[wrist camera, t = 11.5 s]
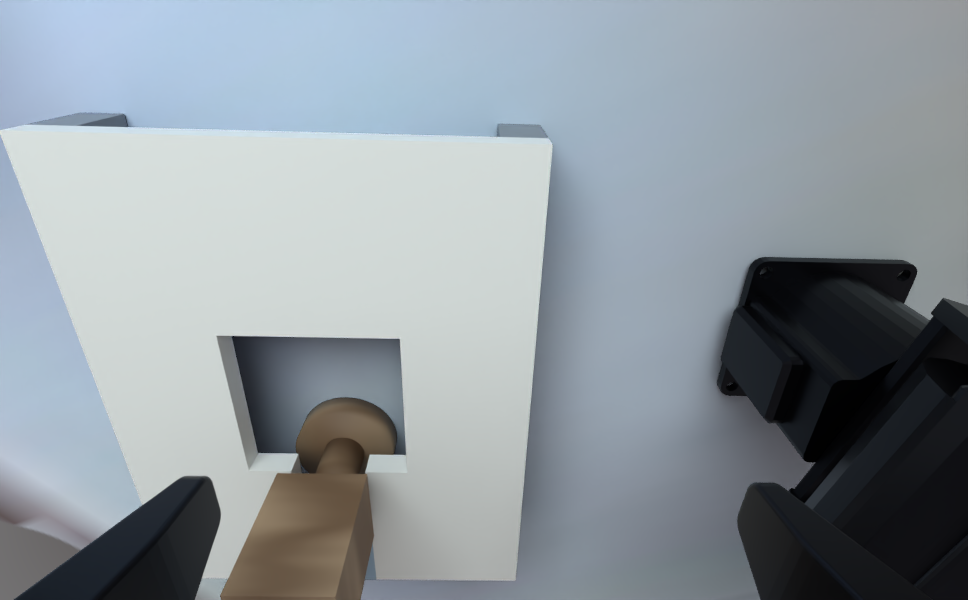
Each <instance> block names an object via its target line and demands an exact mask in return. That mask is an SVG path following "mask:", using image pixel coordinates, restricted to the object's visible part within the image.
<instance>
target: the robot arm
mask: <svg viewBox="0 0 968 600" xmlns="http://www.w3.org/2000/svg"><path fill="white" fill-rule="evenodd" d="M765 267H768V269H767V271H766V272H765V273H764V274H760V272H761V270H762V269H763V268H765ZM901 271H903V272H902V274H901V275H900V276H898V277H897V275H898V274H899V273H900V272H901ZM916 275H917V269H916V267H915V266H914V265H912V264H910V263H909V262H907V261H904V260H875V259H829V258H783V257H762V258H759V259H757V260H755V261H754V262H753V263H752V264H751V266H750V268H749V271H748V274H747V278H746V281H745V285H744V288H743V292H742V295H741V299H740V302H739V306H738V307H737V308H736V309H735V310H734V313H733V316H732V320H731V323H730V327H729V330H728V334H727V338H726V341H725V345H724V348H723V352H722V355H721V361H722V366H721V370H720V373H719V377H718V380H717V385H718V387H719V389H720V390H721V392H722V393H723V394H725V395H729V396H748V398H749V399H750V400H751V402H752V403H753V405H754V406H755V407H756V409H757V410H758V411H759V413H760V414H761V415H762V417H763V418H764V419H765V420H766V421H767V422H768V423H776V424H777V425H778V426H779V428H780V429H781V430H782V432H783V433H784V434H785V436H786V437H787V438H788V440H789V441H790V442H791V444H792V445H793V446H794V448H795V449H796V450H797V451H798V453H799V454H800V455H801V457H802V458H803V459H804V460H805V461H806V462H816V463H815V464H814V465H813V466H812V468H811V469H810V470H809V471H808V473H807V474H806V475H805V476H804V478H803V479H802V480H801V481H800V483H799V484H798V485H797V486H796V487H795V489H793V488H791V489H790V490H789V491H787V490H786V489H784V488H783V487H782V486H780V485H778V484H776V483H752V484H751V485H750V486H749V487H748V489H747V492H746V494H745V497H744V500H743V503H742V506H741V508H740V511H739V514H738V520H737V522H738V530H739V533H740V536H741V540H742V543H743V546H744V549H745V552H746V555H747V558H748V562H749V565H750V568H751V571H752V574H753V577H754V580H755V584H756V587H757V590H758V593H759V596H760V599H761V600H968V306H967V305H964V304H961V303H958V302H955V301H952V300H949V299H945V298H943V299H942V300H941V301H940V302H939V304H938V305H937V306H936V307H935V309H934V310H933V311H932V312H931V314H932V315H933V317H932V319H931V320H928V319H927V318H925V317H924V316H922V315H921V314H919V313H917V312H916V311H914V310H913V309H911V308H910V307H908V306H907V305H905V304H904V302H905V300H906V298H907V296H908V293H909V291H910V289H911V287H912V284H913V282H914V280H915V278H916ZM730 382H733V384H731V385H728V384H729V383H730ZM727 385H728V386H727ZM220 520H221V510H220V506H219V503H218V499H217V496H216V492H215V489H214V485H213V482H212V480H211V479H210V478H209V477H208V476H183V477H181V478H179V479H178V480H176V481H175V482H173V483H172V484H171V485H169V486H168V487H167V488H165V489H164V490H162V491H161V492H160V493H158V494H157V495H156V496H154V497H153V498H152V499H150V500H149V501H147V502H146V503H145V504H143V505H142V506H141V507H139V508H138V509H137V510H135V511H134V512H132V513H131V514H130V515H128V516H127V517H126V518H124V519H123V520H122V521H120V522H119V523H117V524H116V525H115V526H113V527H112V528H111V529H109V530H108V531H107V532H105V533H104V534H102V535H101V536H100V537H98V538H97V539H96V540H94V541H93V542H92V543H90V544H89V545H87V546H86V547H85V548H83V549H82V550H81V551H79V552H78V553H77V554H75V555H74V556H72V557H71V558H70V559H68V560H67V561H66V562H65V563H63V564H62V565H60V566H59V567H57V568H56V569H55V570H53V571H52V572H51V573H49V574H48V575H47V576H45V577H44V578H43V579H41V580H40V581H38V582H37V583H36V584H34V585H33V586H32V587H30V588H29V589H28V590H26V591H25V592H23V593H22V594H21V595H19V596H18V597H17V598H15V599H14V600H195V597H196V594H197V591H198V588H199V585H200V582H201V579H202V576H203V573H204V570H205V567H206V564H207V561H208V558H209V555H210V552H211V549H212V546H213V543H214V540H215V537H216V534H217V531H218V528H219V525H220Z"/></svg>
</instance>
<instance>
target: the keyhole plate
mask: <svg viewBox="0 0 968 600" xmlns="http://www.w3.org/2000/svg"><path fill="white" fill-rule="evenodd" d="M0 135H1V137H2V140H3V143H4V145H5V148H6V150H7V153H8V156H9V158H10V161H11V163H12V166H13V169H14V171H15V174H16V177H17V179H18V182H19V184H20V187H21V190H22V192H23V195H24V197H25V200H26V203H27V205H28V208H29V210H30V213H31V216H32V218H33V221H34V223H35V226H36V229H37V231H38V234H39V237H40V239H41V242H42V244H43V247H44V250H45V252H46V255H47V257H48V260H49V263H50V265H51V268H52V270H53V273H54V276H55V278H56V281H57V283H58V286H59V289H60V291H61V294H62V297H63V299H64V302H65V304H66V307H67V310H68V312H69V315H70V317H71V320H72V323H73V325H74V328H75V330H76V333H77V336H78V338H79V341H80V344H81V346H82V349H83V351H84V354H85V357H86V359H87V362H88V364H89V367H90V370H91V372H92V375H93V377H94V380H95V383H96V385H97V388H98V390H99V393H100V396H101V398H102V401H103V404H104V406H105V409H106V411H107V414H108V417H109V419H110V422H111V424H112V427H113V430H114V432H115V435H116V437H117V440H118V443H119V445H120V448H121V450H122V453H123V456H124V458H125V461H126V464H127V466H128V469H129V471H130V474H131V477H132V479H133V482H134V484H135V487H136V490H137V492H138V495H139V497H140V500H141V503H142V505H143V504H145V503H146V502H147V501H149V500H150V499H152V498H153V497H154V496H156V495H157V494H158V493H160V492H161V491H162V490H164V489H165V488H167V487H168V486H169V485H171V484H172V483H173V482H175V481H176V480H178V479H179V478H181V477H183V476H208V477H209V478H210V479H211V480H212V482H213V485H214V489H215V492H216V496H217V499H218V503H219V506H220V510H221V520H220V525H219V528H218V531H217V534H216V537H215V540H214V543H213V546H212V549H211V552H210V555H209V558H208V561H207V564H206V567H205V570H204V573H203V576H202V578H229V576H230V574H231V571H232V569H233V567H234V565H235V563H236V561H237V558H238V556H239V554H240V552H241V550H242V548H243V546H244V543H245V541H246V539H247V537H248V535H249V533H250V530H251V528H252V526H253V524H254V522H255V520H256V517H257V515H258V513H259V511H260V509H261V507H262V505H263V502H264V500H265V498H266V496H267V494H268V492H269V489H270V487H271V485H272V483H273V481H274V479H275V477H276V474H277V473H302V470H301V465H300V459H299V454H287V453H258V451H257V447H256V442H255V438H254V433H253V429H252V424H251V420H250V416H249V411H248V407H247V402H246V398H245V393H244V389H243V385H242V380H241V376H240V371H239V367H238V363H237V358H236V354H235V349H234V345H233V340H232V336H268V337H324V338H380V339H400V350H401V369H402V387H403V406H404V424H405V442H406V455H370V456H369V460H368V464H367V468H366V471H365V474H367V477H368V486H369V495H370V504H371V513H372V521H373V530H374V538H373V543H372V548H371V553H370V557H369V562H368V567H367V571H366V576H365V580H472V581H516V569H517V558H518V546H519V534H520V522H521V511H522V499H523V487H524V475H525V464H526V452H527V440H528V428H529V417H530V405H531V393H532V381H533V370H534V358H535V346H536V335H537V323H538V311H539V299H540V288H541V276H542V264H543V252H544V241H545V229H546V217H547V205H548V194H549V182H550V170H551V158H552V147H553V144H552V143H551V141H550V140H549V138H548V136H547V135H546V133H545V132H544V130H543V129H542V127H541V126H540V125H520V124H498V132H497V137H481V136H443V135H405V134H367V133H329V132H290V131H252V130H214V129H176V128H137V127H128V126H127V122H126V118H125V115H124V114H107V113H77V114H72V115H68V116H63V117H58V118H54V119H49V120H44V121H40V122H35V123H30V124H26V125H21V126H16V127H12V128H7V129H2V130H0Z"/></svg>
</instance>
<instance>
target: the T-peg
mask: <svg viewBox="0 0 968 600" xmlns="http://www.w3.org/2000/svg"><path fill="white" fill-rule="evenodd" d="M396 441H397V433H396V429H395V426H394V424H393V422H392V420H391V419H390V417H389V416H388V415H387V414H386V413H385V412H384V411H383V410H381V409H380V408H379V407H377V406H375V405H373V404H372V403H369V402H367V401H364V400H360V399H356V398H335V399H330V400H327V401H325V402H322V403H321V404H319V405H317V406H316V407H315V408H313V409H312V410H311V411H310V413H309V414H308V416H307V418H306V420H305V422H304V424H303V426H302V429H301V431H300V433H299V435H298V437H297V441H296V453H297V454H299V459H300V463H301V465H302V466H303V467H304V468H305V470H306V471H307V472H308V473H277V474H276V477H275V479H274V481H273V483H272V485H271V487H270V489H269V492H268V494H267V496H266V498H265V500H264V502H263V505H262V507H261V509H260V511H259V513H258V515H257V517H256V520H255V522H254V524H253V526H252V528H251V530H250V533H249V535H248V537H247V539H246V541H245V543H244V546H243V548H242V550H241V552H240V554H239V556H238V558H237V561H236V563H235V565H234V567H233V569H232V571H231V574H230V576H229V578H228V580H227V582H226V584H225V586H224V589H223V591H222V593H221V595H220V597H221V600H360V599H361V595H362V590H363V585H364V581H365V576H366V571H367V567H368V562H369V557H370V553H371V548H372V543H373V538H374V530H373V521H372V513H371V504H370V495H369V486H368V477H367V474H365V471H366V468H367V464H368V460H369V456H370V455H394V451H395V447H396Z"/></svg>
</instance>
